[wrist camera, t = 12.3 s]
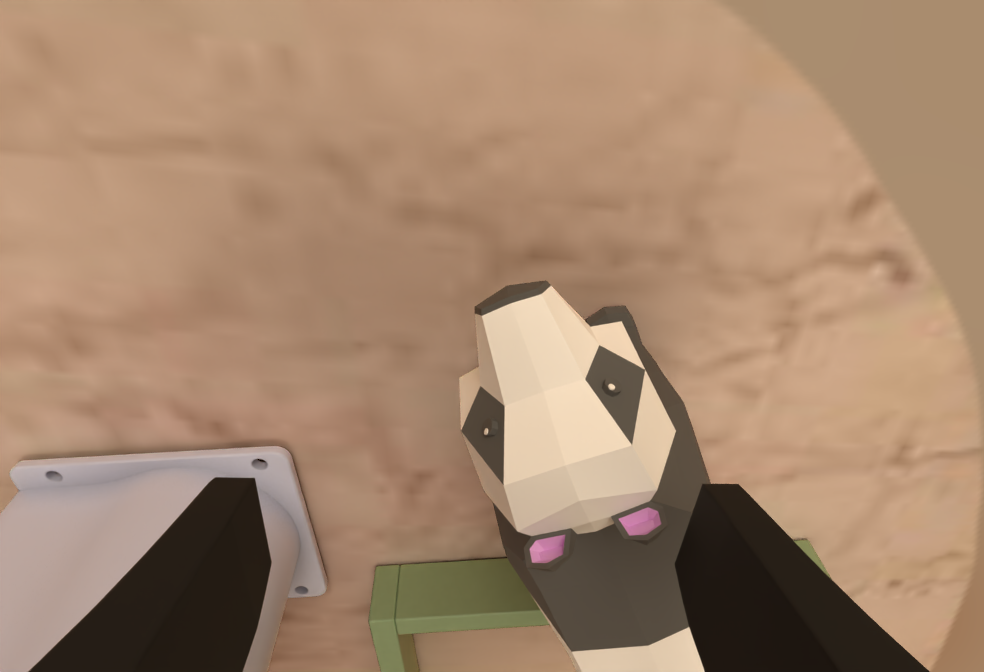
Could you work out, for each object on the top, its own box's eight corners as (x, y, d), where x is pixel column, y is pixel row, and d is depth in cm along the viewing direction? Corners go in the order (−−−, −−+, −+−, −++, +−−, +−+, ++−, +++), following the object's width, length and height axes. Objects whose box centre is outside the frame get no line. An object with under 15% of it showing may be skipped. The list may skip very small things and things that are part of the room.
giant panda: (696, 494, 24) (819, 779, 15) (560, 534, 24) (610, 822, 16) (588, 138, 16) (720, 326, 8) (399, 214, 17) (343, 453, 9)
